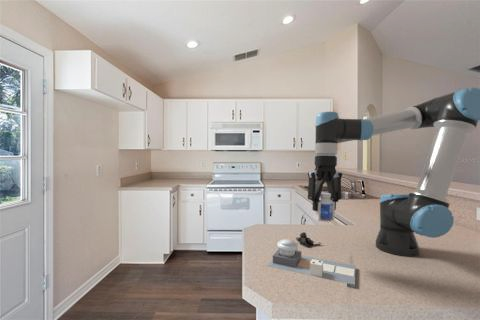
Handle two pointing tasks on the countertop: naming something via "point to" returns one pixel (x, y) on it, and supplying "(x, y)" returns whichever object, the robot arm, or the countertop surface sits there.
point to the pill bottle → (326, 207)
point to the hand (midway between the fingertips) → (323, 219)
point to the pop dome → (287, 247)
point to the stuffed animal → (306, 240)
